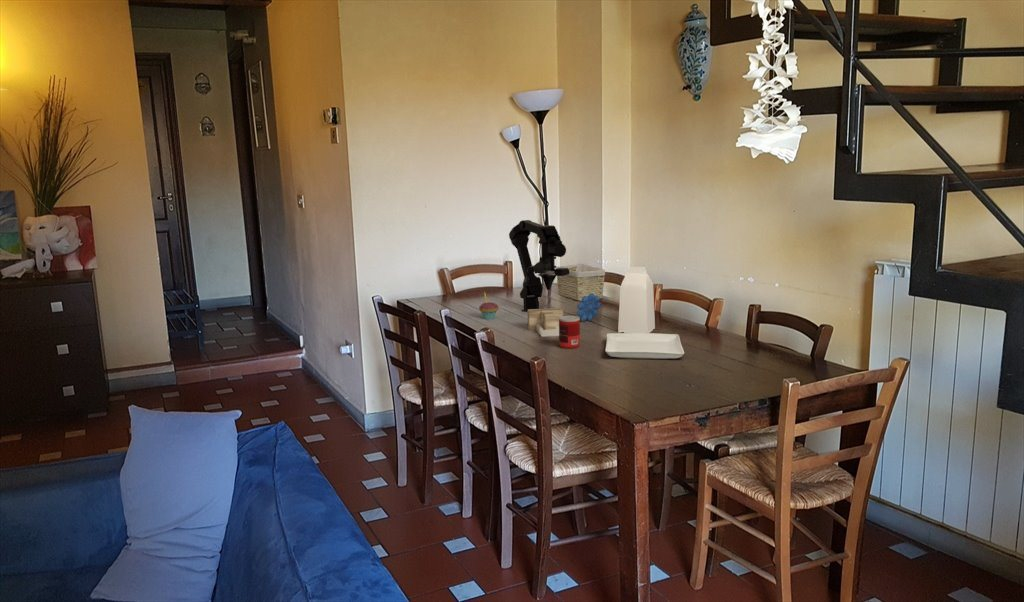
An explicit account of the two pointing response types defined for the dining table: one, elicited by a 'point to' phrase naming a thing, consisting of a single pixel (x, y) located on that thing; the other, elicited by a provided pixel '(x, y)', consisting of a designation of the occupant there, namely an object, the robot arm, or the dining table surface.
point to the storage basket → (581, 282)
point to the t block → (544, 318)
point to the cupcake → (488, 309)
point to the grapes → (588, 307)
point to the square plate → (644, 345)
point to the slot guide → (547, 331)
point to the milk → (636, 302)
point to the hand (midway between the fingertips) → (548, 289)
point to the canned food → (569, 332)
